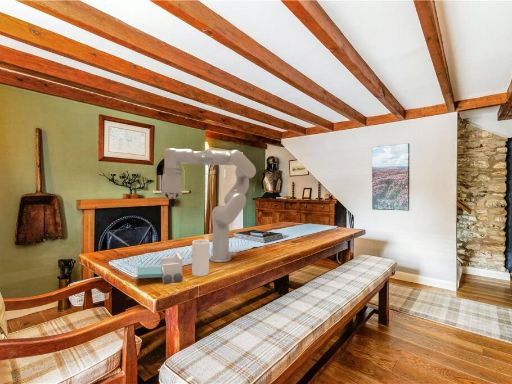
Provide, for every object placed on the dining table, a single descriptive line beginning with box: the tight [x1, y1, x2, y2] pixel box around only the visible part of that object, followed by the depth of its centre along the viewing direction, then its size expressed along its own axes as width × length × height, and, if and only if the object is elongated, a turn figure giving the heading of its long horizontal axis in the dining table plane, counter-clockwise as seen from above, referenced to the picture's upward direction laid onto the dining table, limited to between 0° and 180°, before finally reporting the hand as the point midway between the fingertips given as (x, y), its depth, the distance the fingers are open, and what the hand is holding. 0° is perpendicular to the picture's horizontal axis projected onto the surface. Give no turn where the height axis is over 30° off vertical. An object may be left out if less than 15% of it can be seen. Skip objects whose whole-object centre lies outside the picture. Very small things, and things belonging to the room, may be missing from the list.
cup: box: [191, 239, 210, 277], centre depth 126 cm, size 8×8×16 cm
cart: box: [160, 251, 183, 284], centre depth 120 cm, size 8×14×10 cm, turn 25°
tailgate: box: [137, 266, 163, 279], centre depth 116 cm, size 2×11×10 cm
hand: (171, 206), depth 135 cm, fingers closed
